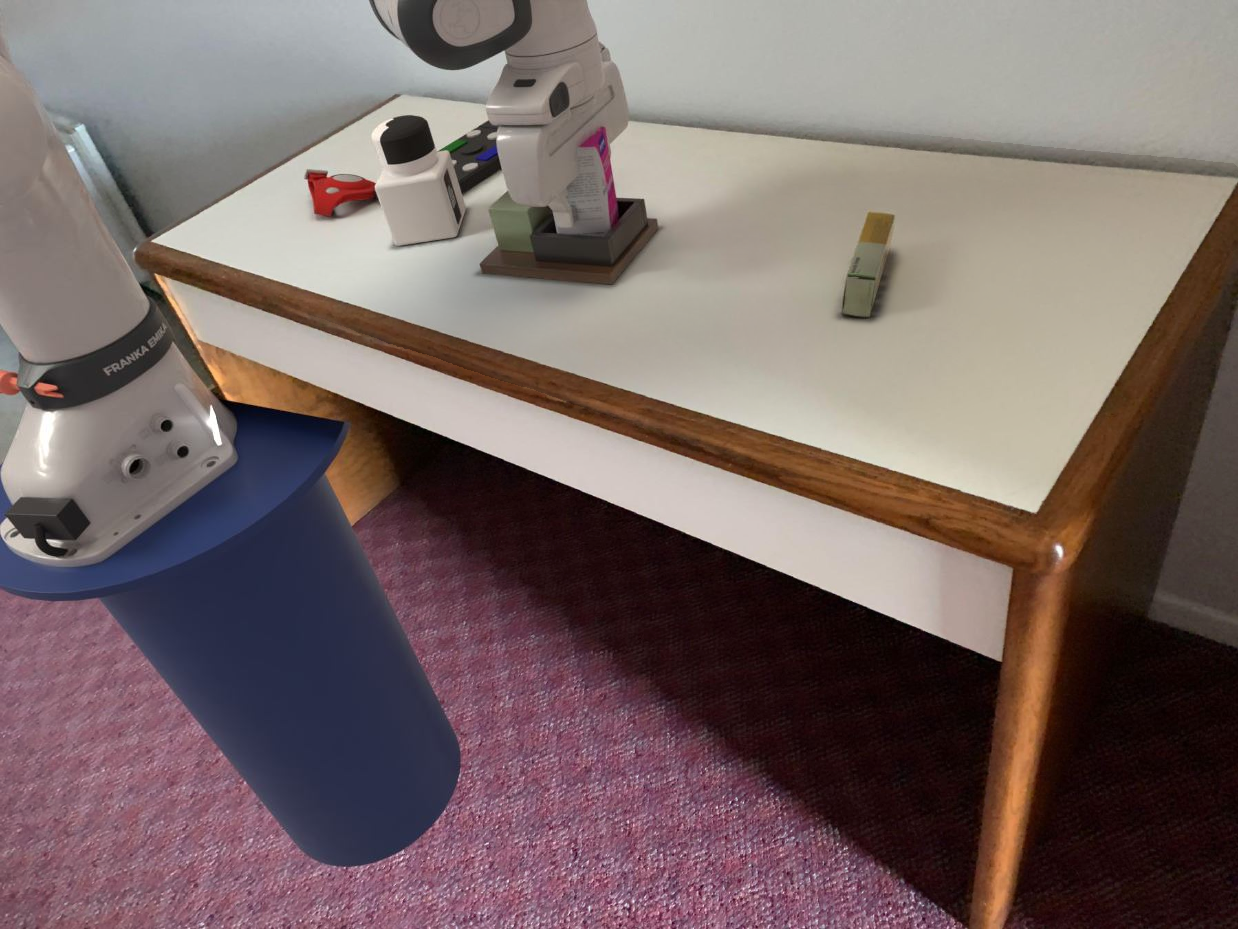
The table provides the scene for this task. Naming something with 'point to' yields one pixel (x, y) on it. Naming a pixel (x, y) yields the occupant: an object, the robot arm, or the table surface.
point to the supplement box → (593, 189)
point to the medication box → (867, 265)
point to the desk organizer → (564, 243)
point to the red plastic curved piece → (336, 189)
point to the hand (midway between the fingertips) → (585, 207)
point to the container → (416, 182)
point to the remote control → (474, 156)
